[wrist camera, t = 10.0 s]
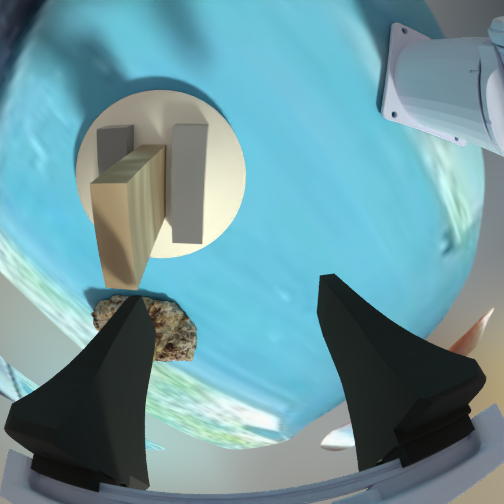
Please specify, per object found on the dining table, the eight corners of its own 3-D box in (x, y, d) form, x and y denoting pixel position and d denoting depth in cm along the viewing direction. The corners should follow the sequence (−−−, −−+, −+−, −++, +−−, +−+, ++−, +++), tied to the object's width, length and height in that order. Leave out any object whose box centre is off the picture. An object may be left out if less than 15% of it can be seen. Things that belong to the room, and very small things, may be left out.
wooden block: (166, 144, 16) (126, 183, 10) (165, 216, 19) (137, 290, 12) (142, 144, 16) (89, 183, 9) (143, 215, 19) (105, 287, 12)
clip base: (253, 93, 16) (257, 92, 14) (237, 254, 22) (238, 273, 20) (79, 97, 15) (61, 99, 12) (92, 247, 21) (80, 264, 19)
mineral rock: (214, 326, 23) (184, 389, 25) (211, 303, 28) (184, 363, 29) (94, 280, 20) (79, 351, 22) (109, 262, 24) (92, 328, 26)
